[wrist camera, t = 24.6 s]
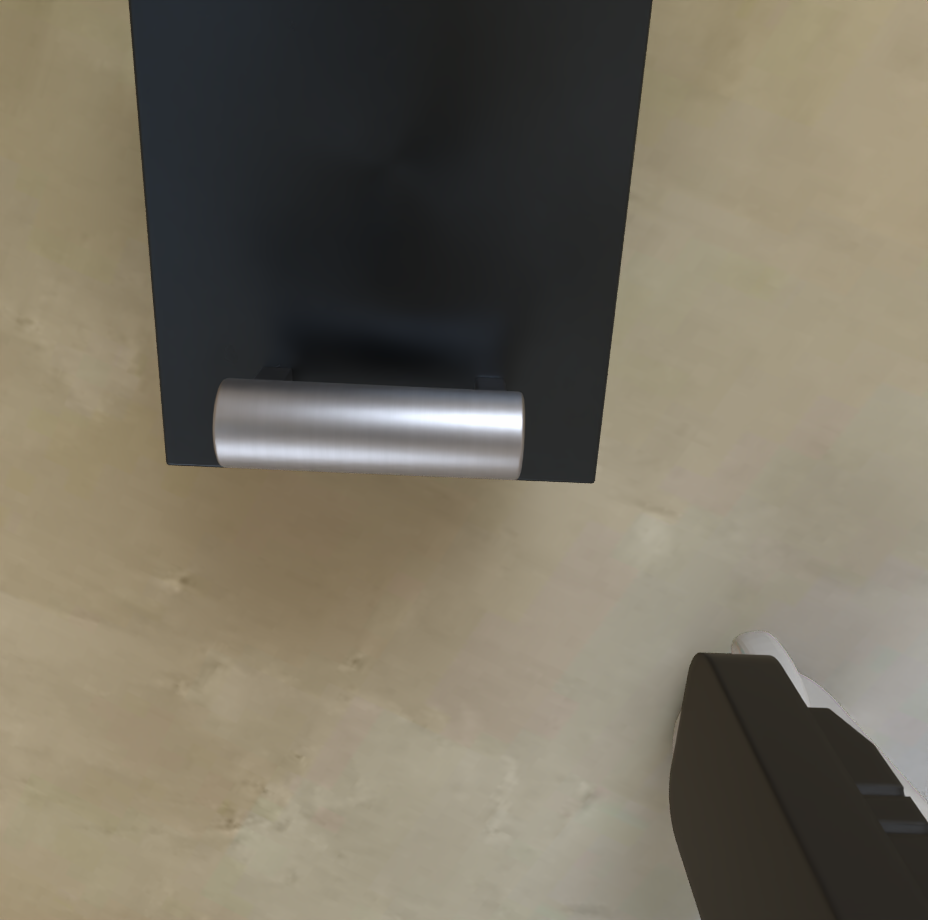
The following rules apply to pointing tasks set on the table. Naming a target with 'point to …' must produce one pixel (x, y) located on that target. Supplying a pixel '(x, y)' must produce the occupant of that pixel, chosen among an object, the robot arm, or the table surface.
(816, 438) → the table surface
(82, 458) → the table surface
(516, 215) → the lid
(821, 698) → the cup
